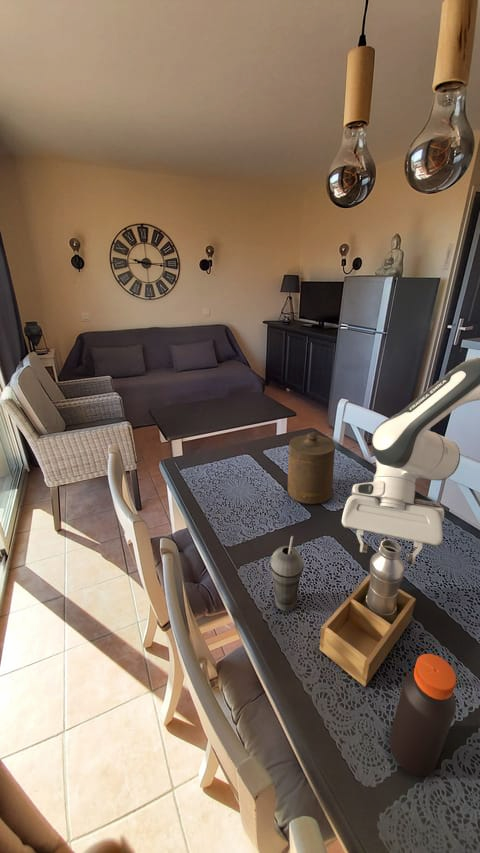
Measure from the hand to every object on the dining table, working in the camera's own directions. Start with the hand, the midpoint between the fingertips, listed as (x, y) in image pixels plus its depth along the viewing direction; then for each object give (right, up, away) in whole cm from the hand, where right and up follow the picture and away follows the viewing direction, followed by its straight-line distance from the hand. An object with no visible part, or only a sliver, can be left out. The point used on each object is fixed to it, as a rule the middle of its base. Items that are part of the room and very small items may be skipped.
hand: (386, 558), depth 77 cm
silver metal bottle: (-1, -14, +1) cm, 14 cm away
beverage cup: (-21, -13, +6) cm, 25 cm away
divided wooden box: (-5, -15, -1) cm, 16 cm away
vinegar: (-4, -24, -19) cm, 31 cm away
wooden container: (-7, +6, +47) cm, 48 cm away
